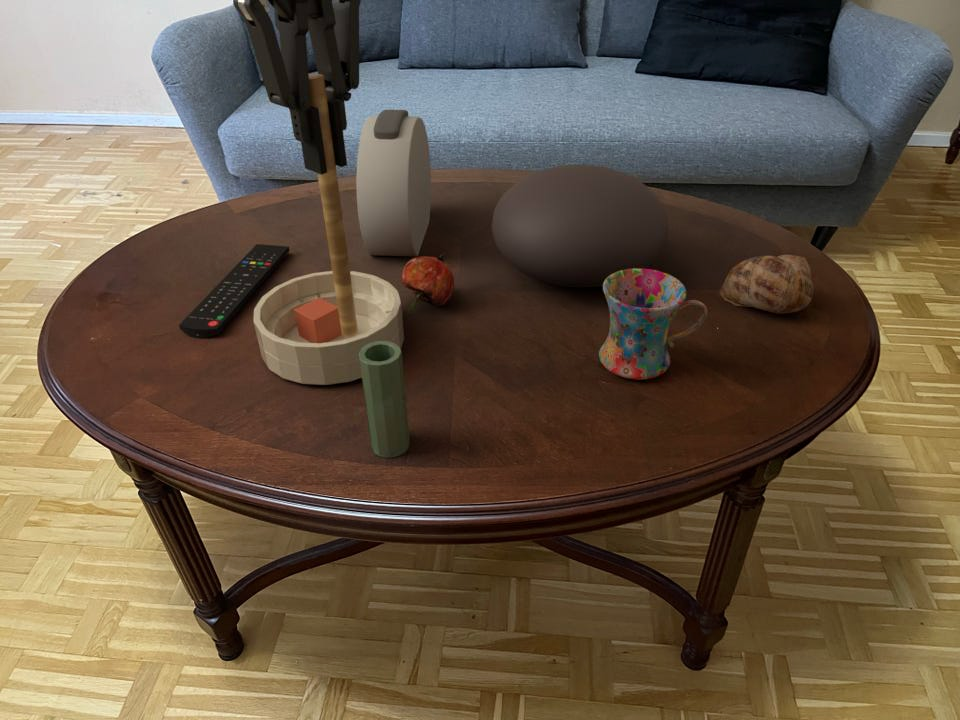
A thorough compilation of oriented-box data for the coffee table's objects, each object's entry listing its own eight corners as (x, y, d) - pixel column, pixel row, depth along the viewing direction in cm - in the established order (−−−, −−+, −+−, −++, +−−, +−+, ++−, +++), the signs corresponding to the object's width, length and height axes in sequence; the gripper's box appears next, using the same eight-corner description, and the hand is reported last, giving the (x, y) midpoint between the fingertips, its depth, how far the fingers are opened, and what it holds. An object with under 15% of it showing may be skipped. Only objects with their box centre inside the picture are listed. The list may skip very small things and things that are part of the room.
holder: (389, 463, 73) (378, 370, 66) (363, 446, 76) (350, 353, 69) (417, 443, 76) (409, 351, 69) (391, 427, 78) (381, 336, 71)
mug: (594, 383, 84) (602, 306, 78) (595, 339, 91) (603, 265, 85) (699, 392, 82) (716, 314, 76) (692, 346, 90) (706, 272, 84)
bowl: (323, 408, 81) (315, 365, 77) (234, 350, 90) (224, 310, 87) (432, 341, 91) (429, 301, 88) (342, 295, 101) (337, 257, 97)
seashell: (785, 274, 103) (817, 237, 93) (798, 332, 99) (833, 298, 90) (713, 276, 102) (738, 238, 93) (724, 334, 99) (750, 300, 90)
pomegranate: (436, 335, 96) (479, 276, 97) (402, 308, 91) (448, 245, 92) (407, 317, 102) (448, 261, 102) (373, 290, 97) (417, 231, 97)
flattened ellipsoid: (473, 244, 113) (472, 152, 105) (620, 225, 118) (630, 136, 109) (519, 326, 94) (521, 222, 85) (692, 300, 99) (711, 198, 90)
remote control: (290, 254, 111) (288, 246, 110) (217, 340, 92) (214, 331, 91) (258, 251, 112) (256, 244, 111) (179, 336, 93) (176, 327, 92)
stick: (348, 339, 86) (311, 80, 68) (338, 333, 87) (298, 76, 69) (361, 332, 87) (328, 75, 70) (350, 326, 88) (315, 72, 71)
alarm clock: (390, 209, 125) (380, 92, 113) (433, 210, 124) (426, 92, 112) (364, 267, 107) (348, 137, 96) (413, 269, 107) (403, 138, 95)
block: (318, 347, 89) (313, 320, 87) (298, 335, 92) (293, 309, 89) (343, 333, 92) (339, 307, 90) (323, 323, 94) (319, 296, 92)
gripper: (329, -106, 68) (357, 140, 81) (185, -97, 59) (244, 179, 72) (383, -104, 64) (402, 155, 77) (237, -93, 55) (289, 198, 68)
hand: (326, 166), depth 75 cm, fingers closed on stick, 2 cm apart
